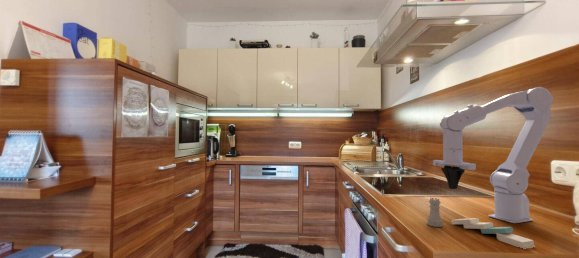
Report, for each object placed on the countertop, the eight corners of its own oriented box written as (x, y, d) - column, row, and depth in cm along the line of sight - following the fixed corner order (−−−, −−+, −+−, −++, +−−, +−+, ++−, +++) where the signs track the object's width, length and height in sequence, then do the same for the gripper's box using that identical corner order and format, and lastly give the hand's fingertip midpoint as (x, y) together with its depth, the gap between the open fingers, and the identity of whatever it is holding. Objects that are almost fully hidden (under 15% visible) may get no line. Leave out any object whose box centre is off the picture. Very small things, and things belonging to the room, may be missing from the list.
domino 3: (488, 227, 76) (512, 226, 71) (489, 231, 75) (513, 231, 71) (480, 229, 74) (504, 228, 69) (482, 233, 74) (506, 233, 69)
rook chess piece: (445, 228, 78) (445, 201, 79) (429, 226, 79) (429, 200, 79) (440, 223, 83) (439, 197, 83) (424, 222, 84) (424, 196, 84)
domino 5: (507, 237, 71) (535, 245, 65) (508, 241, 71) (535, 250, 65) (498, 238, 70) (524, 248, 64) (498, 243, 69) (524, 252, 64)
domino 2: (471, 222, 80) (492, 222, 75) (473, 226, 80) (493, 227, 75) (463, 224, 79) (483, 224, 74) (464, 228, 78) (484, 228, 73)
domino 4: (507, 232, 71) (533, 240, 65) (507, 236, 71) (533, 245, 65) (496, 233, 70) (522, 242, 64) (496, 238, 70) (522, 247, 64)
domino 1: (459, 218, 84) (478, 218, 78) (461, 222, 83) (479, 222, 78) (451, 220, 82) (469, 219, 77) (452, 224, 82) (470, 223, 77)
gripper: (426, 148, 96) (426, 185, 96) (464, 150, 83) (464, 193, 82) (441, 148, 99) (441, 184, 98) (480, 150, 85) (480, 192, 85)
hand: (453, 188), depth 91 cm, fingers closed
